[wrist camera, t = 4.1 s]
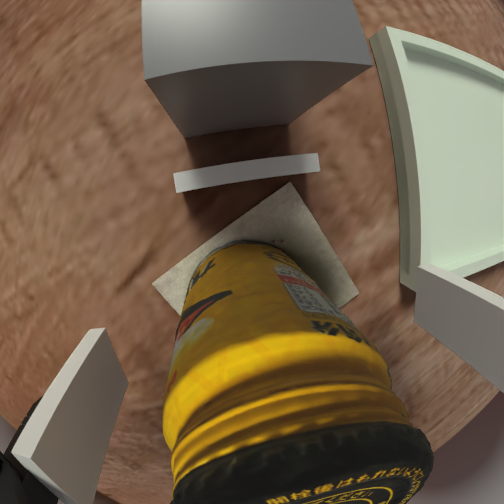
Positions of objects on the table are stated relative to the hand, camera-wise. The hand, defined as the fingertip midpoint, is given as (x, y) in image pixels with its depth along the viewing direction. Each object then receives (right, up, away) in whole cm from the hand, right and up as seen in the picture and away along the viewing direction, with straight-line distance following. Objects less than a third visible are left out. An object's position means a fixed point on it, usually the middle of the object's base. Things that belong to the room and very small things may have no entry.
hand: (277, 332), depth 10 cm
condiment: (0, +1, +4) cm, 5 cm away
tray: (+14, +10, +4) cm, 18 cm away
